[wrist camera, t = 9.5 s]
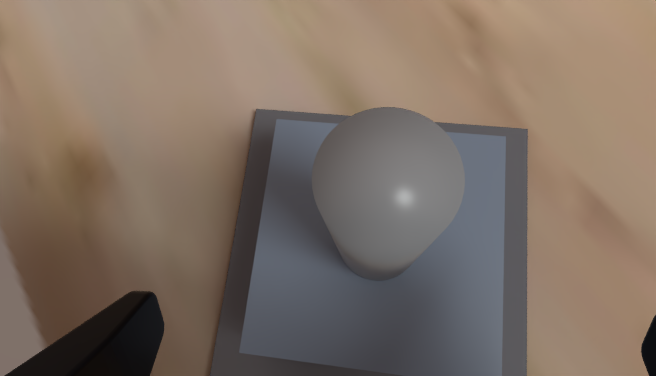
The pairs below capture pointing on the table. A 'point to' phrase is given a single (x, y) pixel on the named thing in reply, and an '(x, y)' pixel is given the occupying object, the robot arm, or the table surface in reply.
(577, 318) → the table surface
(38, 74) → the table surface
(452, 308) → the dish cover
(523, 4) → the table surface
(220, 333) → the rubber mat
